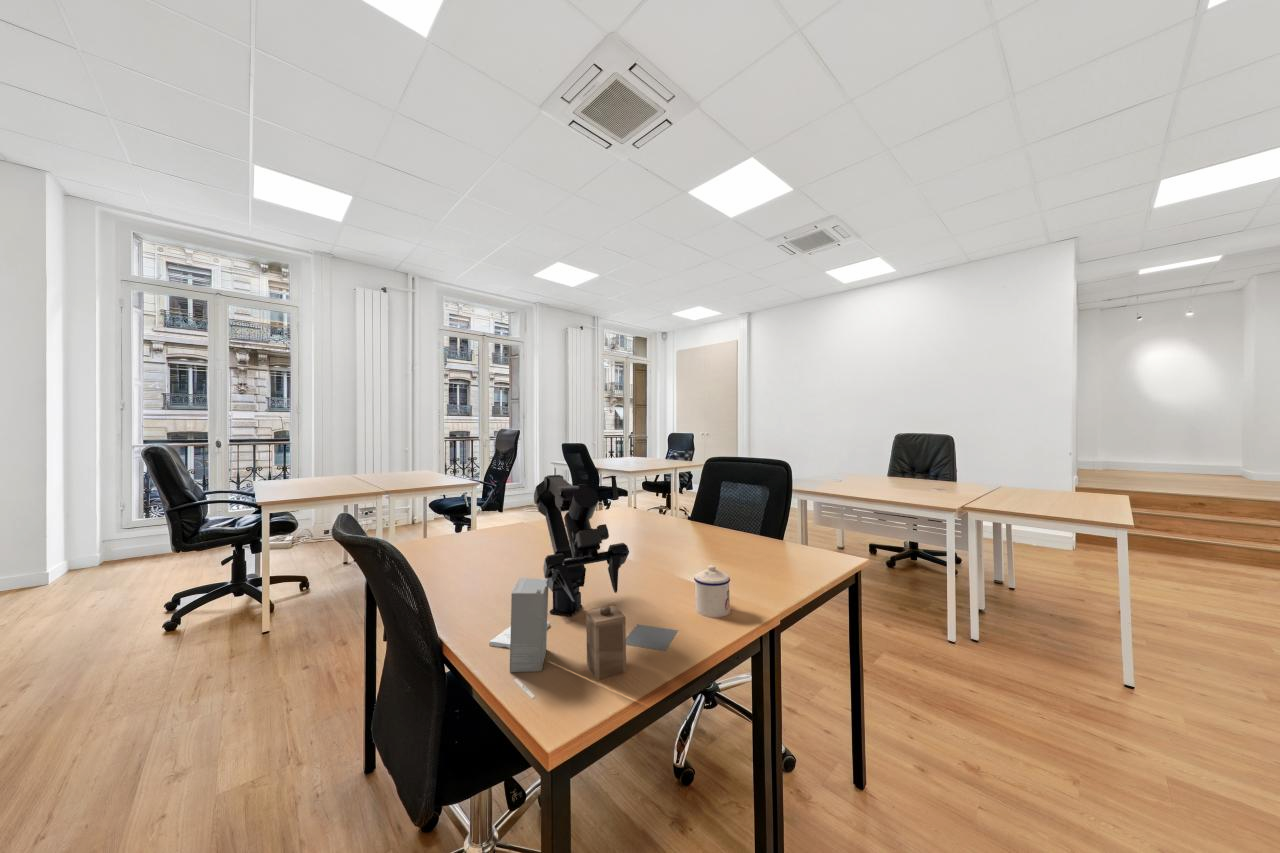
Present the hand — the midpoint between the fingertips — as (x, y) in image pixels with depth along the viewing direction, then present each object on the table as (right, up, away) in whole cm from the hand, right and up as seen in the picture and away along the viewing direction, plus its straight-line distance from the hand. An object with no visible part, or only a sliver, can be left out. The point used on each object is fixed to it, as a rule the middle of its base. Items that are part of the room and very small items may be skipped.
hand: (595, 596), depth 92 cm
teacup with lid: (+28, -12, +20) cm, 37 cm away
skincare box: (-13, -12, -4) cm, 18 cm away
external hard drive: (-18, -13, +8) cm, 23 cm away
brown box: (+3, -11, -8) cm, 14 cm away
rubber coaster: (+12, -11, +5) cm, 17 cm away
